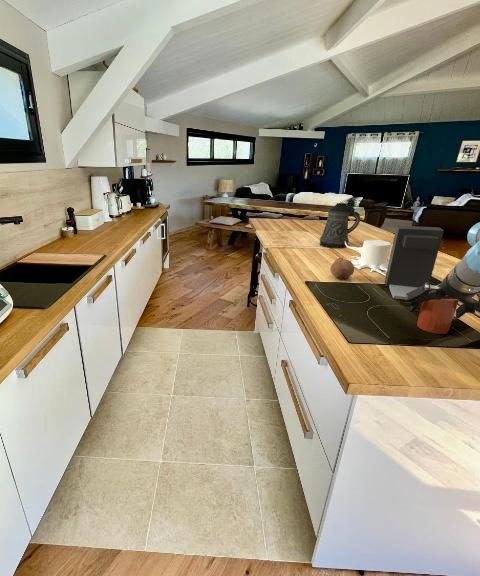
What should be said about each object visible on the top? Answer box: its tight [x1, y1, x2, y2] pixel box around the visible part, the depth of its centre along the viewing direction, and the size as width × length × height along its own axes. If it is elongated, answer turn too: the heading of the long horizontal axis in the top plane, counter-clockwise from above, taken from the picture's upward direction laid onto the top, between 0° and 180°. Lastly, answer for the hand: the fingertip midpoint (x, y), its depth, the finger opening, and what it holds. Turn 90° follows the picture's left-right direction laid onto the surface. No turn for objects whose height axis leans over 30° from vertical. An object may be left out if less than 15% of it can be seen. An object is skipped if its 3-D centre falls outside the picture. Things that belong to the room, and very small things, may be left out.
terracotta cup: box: [416, 298, 460, 335], centre depth 94 cm, size 8×8×11 cm
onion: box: [329, 257, 355, 281], centre depth 137 cm, size 10×9×10 cm
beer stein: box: [319, 202, 361, 249], centre depth 187 cm, size 16×19×25 cm
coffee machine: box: [384, 225, 445, 301], centre depth 118 cm, size 14×18×24 cm
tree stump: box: [345, 239, 392, 277], centre depth 153 cm, size 28×28×11 cm
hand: (433, 311), depth 97 cm, fingers open, 11 cm apart
